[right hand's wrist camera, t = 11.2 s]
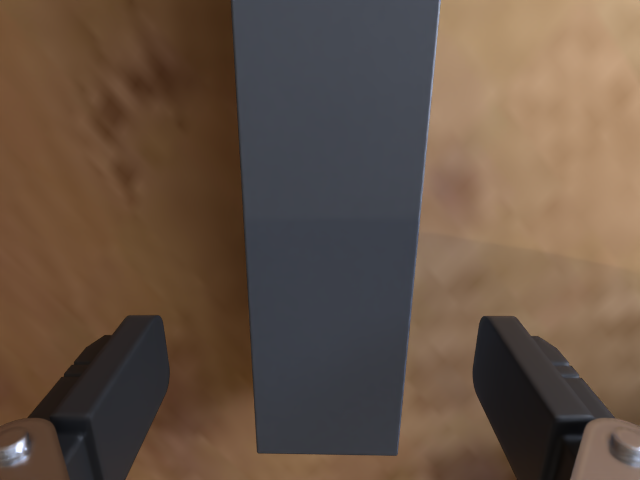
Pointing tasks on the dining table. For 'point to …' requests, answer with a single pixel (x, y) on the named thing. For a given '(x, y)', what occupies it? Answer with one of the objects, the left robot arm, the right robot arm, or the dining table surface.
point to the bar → (331, 212)
